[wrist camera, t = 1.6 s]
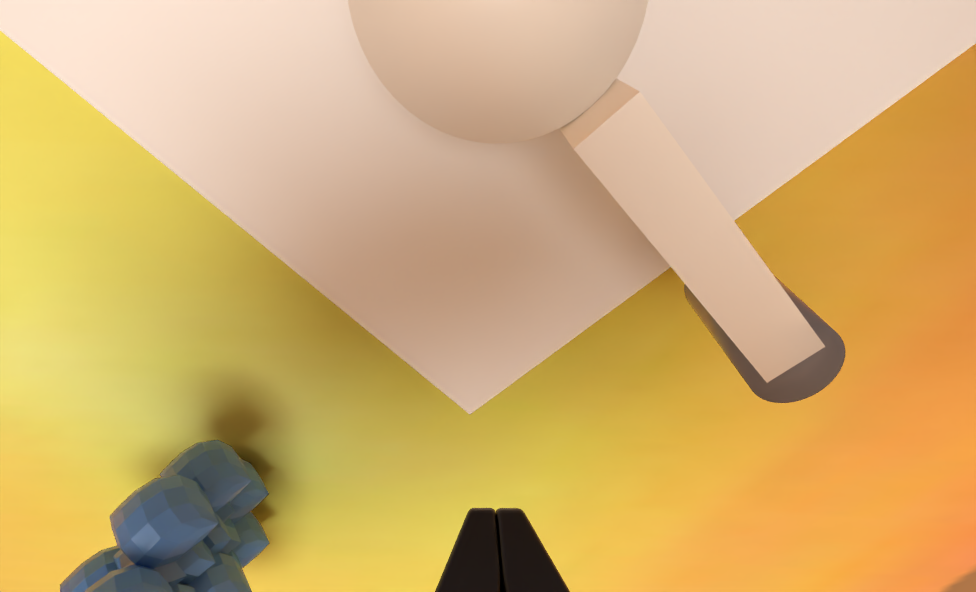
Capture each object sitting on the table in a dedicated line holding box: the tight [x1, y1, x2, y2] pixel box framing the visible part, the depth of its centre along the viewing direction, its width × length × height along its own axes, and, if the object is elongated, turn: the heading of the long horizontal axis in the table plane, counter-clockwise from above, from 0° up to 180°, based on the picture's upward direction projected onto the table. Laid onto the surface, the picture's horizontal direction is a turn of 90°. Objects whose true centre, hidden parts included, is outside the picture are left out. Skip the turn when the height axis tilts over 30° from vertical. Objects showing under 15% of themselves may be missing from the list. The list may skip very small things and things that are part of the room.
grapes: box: [60, 440, 269, 592], centre depth 20 cm, size 12×7×12 cm, turn 172°
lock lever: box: [348, 0, 845, 403], centre depth 13 cm, size 15×6×4 cm, turn 42°
